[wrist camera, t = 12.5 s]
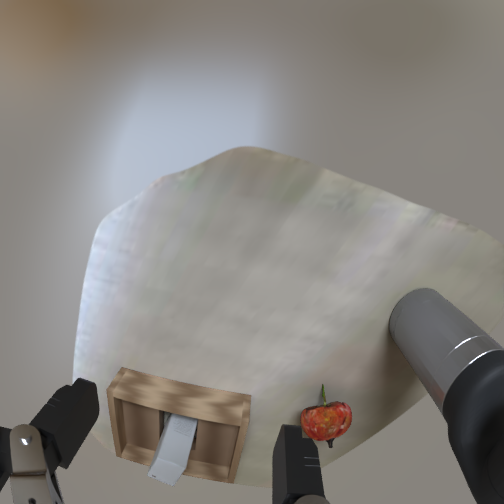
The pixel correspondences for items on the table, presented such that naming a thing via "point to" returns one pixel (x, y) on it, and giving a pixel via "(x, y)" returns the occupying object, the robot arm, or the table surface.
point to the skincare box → (173, 449)
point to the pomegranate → (326, 420)
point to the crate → (183, 403)
